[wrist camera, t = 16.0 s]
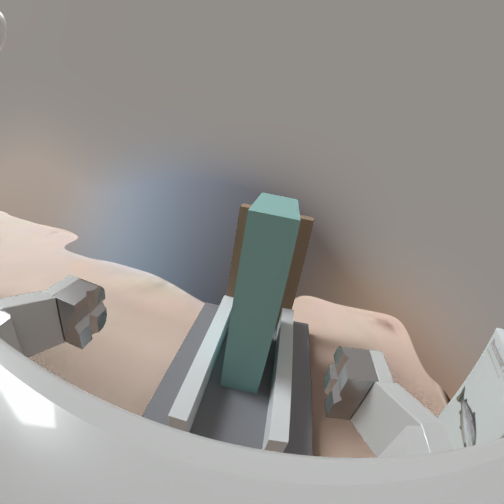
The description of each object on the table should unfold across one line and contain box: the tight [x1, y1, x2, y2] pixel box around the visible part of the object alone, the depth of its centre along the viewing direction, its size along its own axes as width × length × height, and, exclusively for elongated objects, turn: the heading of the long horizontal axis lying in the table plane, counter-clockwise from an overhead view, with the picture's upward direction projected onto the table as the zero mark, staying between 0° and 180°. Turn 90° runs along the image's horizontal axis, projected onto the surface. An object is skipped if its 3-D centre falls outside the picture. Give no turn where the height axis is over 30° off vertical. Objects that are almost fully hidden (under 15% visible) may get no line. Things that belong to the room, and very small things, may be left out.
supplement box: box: [438, 328, 504, 449], centre depth 10 cm, size 7×7×13 cm
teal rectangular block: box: [220, 193, 301, 394], centre depth 22 cm, size 3×8×14 cm, turn 172°
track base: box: [142, 204, 314, 456], centre depth 22 cm, size 12×18×13 cm, turn 172°
